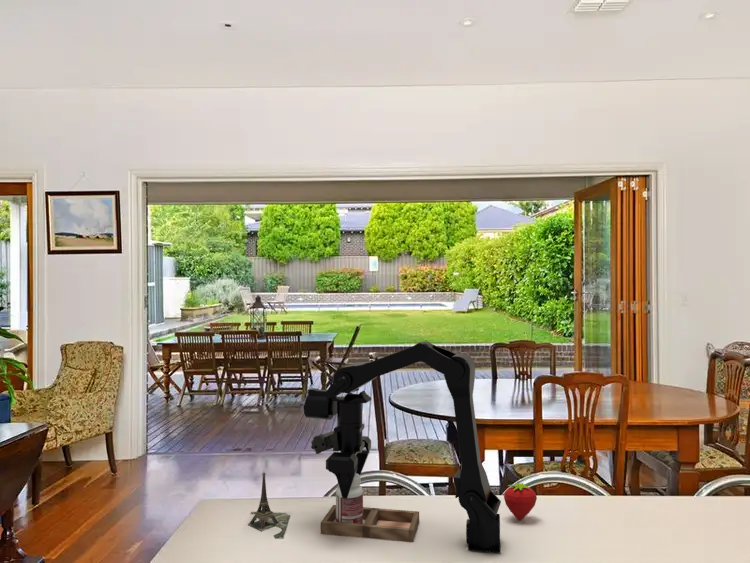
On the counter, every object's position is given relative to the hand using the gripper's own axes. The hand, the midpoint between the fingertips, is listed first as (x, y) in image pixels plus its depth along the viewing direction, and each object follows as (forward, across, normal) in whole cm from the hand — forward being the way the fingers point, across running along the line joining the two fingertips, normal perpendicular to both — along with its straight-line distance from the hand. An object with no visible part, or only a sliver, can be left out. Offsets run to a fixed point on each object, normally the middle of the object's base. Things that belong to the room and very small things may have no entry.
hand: (349, 490), depth 130 cm
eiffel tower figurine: (+9, +3, -19) cm, 21 cm away
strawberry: (+8, -11, +38) cm, 40 cm away
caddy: (+8, 0, +5) cm, 9 cm away
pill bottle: (+8, 0, 0) cm, 8 cm away
